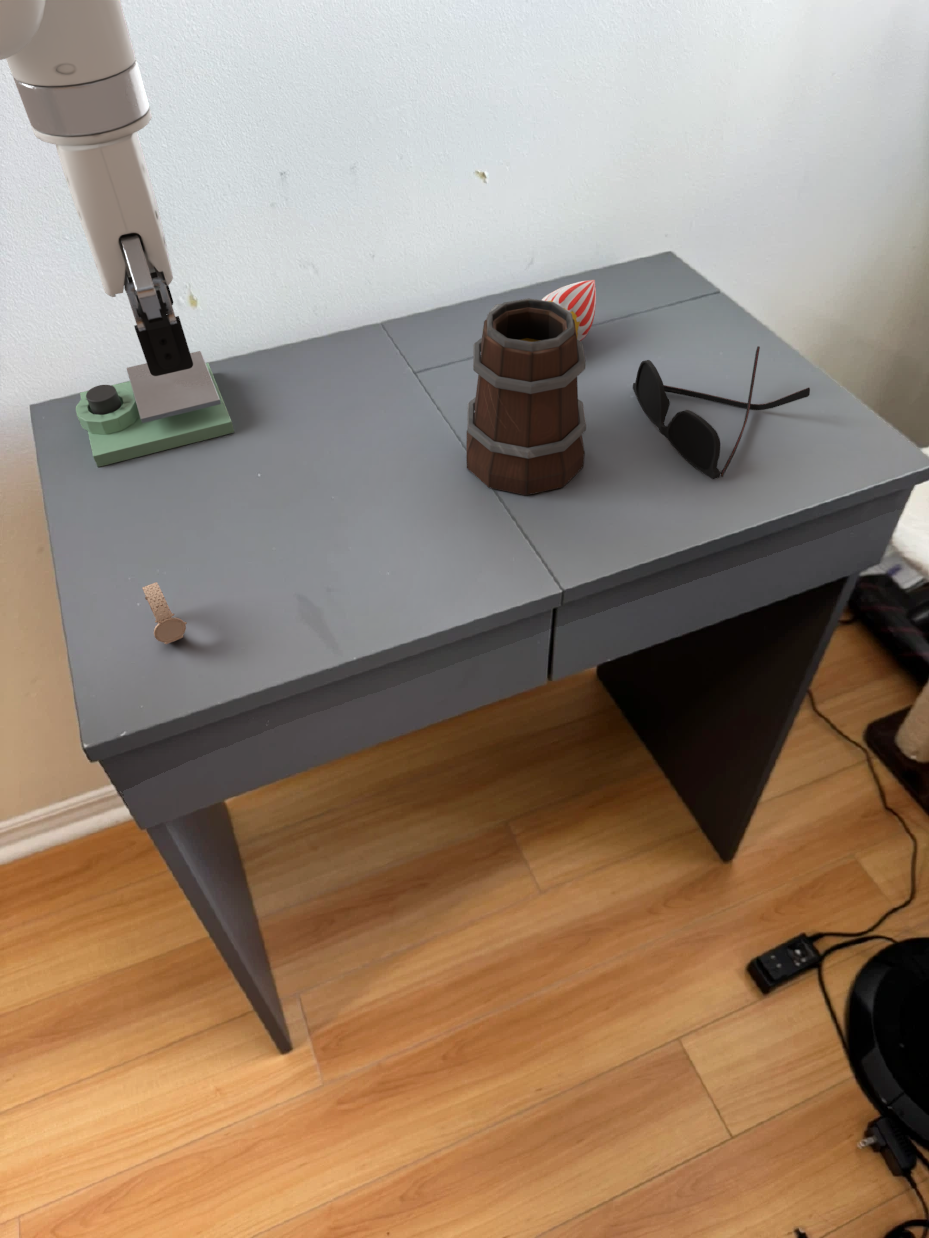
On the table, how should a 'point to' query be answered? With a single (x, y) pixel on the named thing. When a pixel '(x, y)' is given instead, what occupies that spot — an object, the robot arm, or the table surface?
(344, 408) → the table surface
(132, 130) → the robot arm
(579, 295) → the ice cream cone
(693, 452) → the sunglasses
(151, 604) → the perforated watch strap
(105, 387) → the button
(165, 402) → the brushed metal plate
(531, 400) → the wooden bucket
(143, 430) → the scale
